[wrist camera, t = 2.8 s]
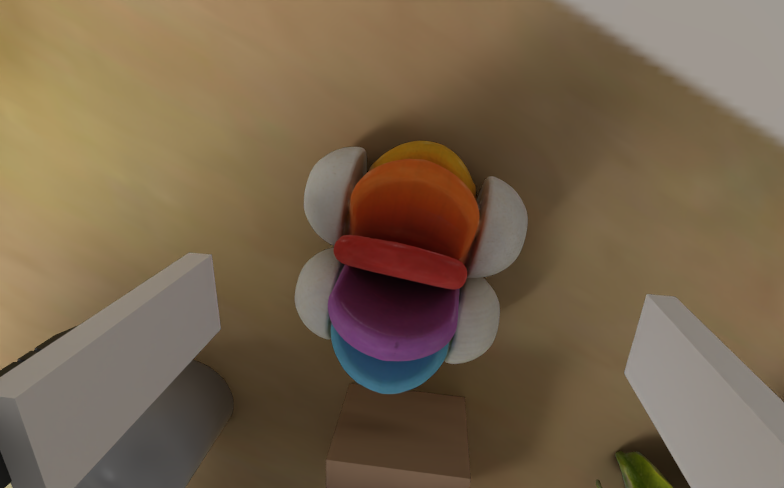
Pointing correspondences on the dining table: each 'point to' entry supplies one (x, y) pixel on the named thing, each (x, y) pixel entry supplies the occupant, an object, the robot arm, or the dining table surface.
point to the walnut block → (399, 441)
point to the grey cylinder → (168, 435)
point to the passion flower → (639, 472)
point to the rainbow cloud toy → (405, 261)
